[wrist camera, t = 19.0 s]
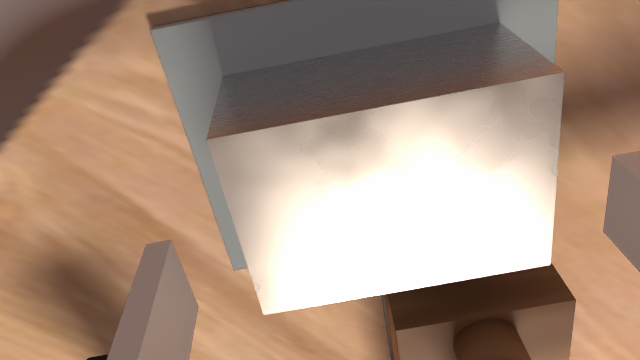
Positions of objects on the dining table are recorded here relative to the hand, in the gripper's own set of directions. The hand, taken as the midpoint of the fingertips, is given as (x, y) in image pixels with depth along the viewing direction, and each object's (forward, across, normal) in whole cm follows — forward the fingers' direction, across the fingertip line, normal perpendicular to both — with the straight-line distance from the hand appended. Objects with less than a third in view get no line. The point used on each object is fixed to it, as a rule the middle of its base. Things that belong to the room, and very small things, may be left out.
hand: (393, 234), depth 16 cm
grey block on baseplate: (+6, 0, 0) cm, 6 cm away
